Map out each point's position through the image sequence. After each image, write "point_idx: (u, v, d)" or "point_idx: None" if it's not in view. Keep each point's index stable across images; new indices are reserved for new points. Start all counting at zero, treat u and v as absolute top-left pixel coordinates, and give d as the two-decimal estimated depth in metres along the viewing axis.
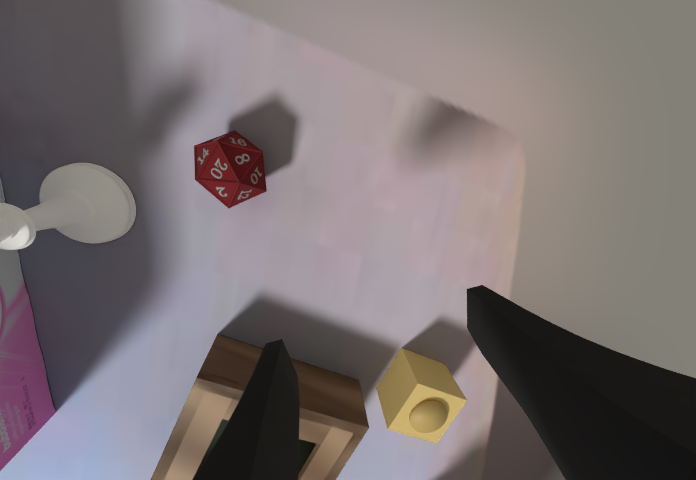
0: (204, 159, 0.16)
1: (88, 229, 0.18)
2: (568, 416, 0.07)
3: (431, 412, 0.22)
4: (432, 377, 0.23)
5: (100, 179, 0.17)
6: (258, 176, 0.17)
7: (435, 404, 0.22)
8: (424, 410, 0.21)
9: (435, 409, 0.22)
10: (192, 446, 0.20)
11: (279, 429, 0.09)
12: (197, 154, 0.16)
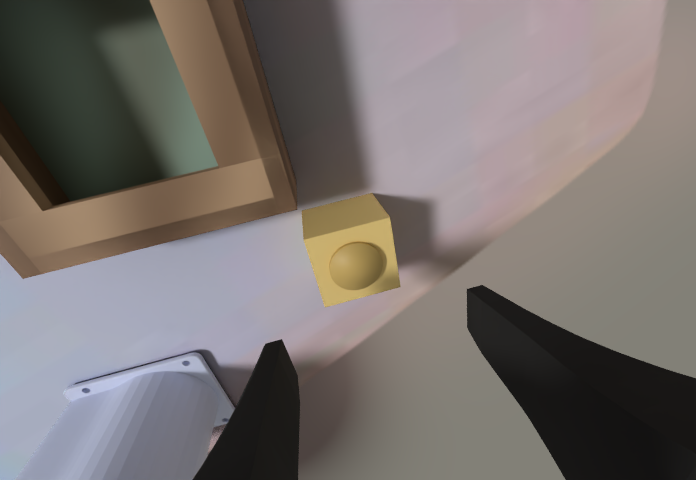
0: None
1: None
2: (568, 416, 0.07)
3: (366, 263, 0.16)
4: None
5: None
6: None
7: (378, 258, 0.16)
8: (363, 254, 0.15)
9: (372, 263, 0.16)
10: None
11: (279, 429, 0.09)
12: None
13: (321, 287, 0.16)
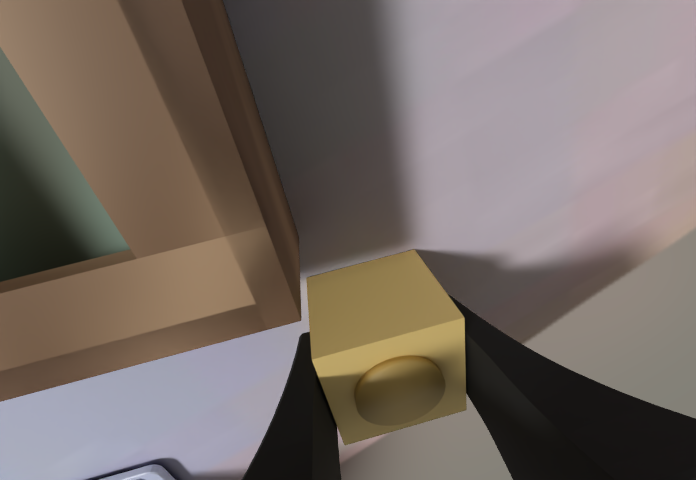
0: None
1: None
2: (517, 431, 0.07)
3: (417, 389, 0.09)
4: None
5: None
6: None
7: (438, 380, 0.09)
8: (414, 376, 0.09)
9: (429, 389, 0.09)
10: None
11: (324, 416, 0.09)
12: None
13: (339, 421, 0.10)
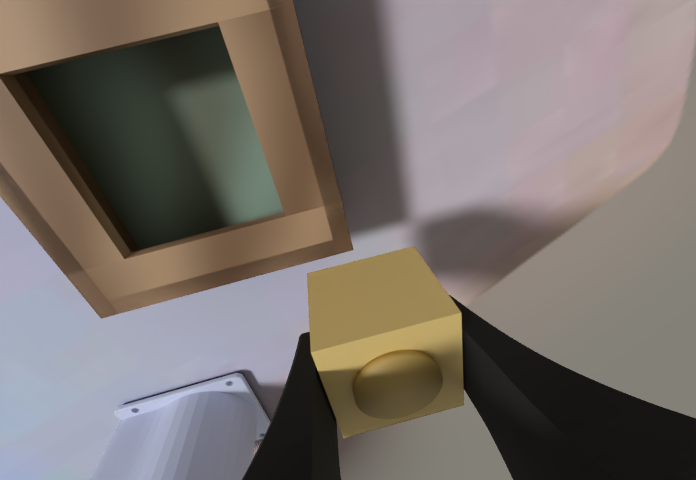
0: None
1: None
2: (517, 431, 0.07)
3: (415, 383, 0.09)
4: None
5: None
6: None
7: (435, 374, 0.09)
8: (411, 371, 0.09)
9: (426, 383, 0.09)
10: (114, 6, 0.09)
11: (323, 416, 0.09)
12: None
13: (338, 414, 0.10)
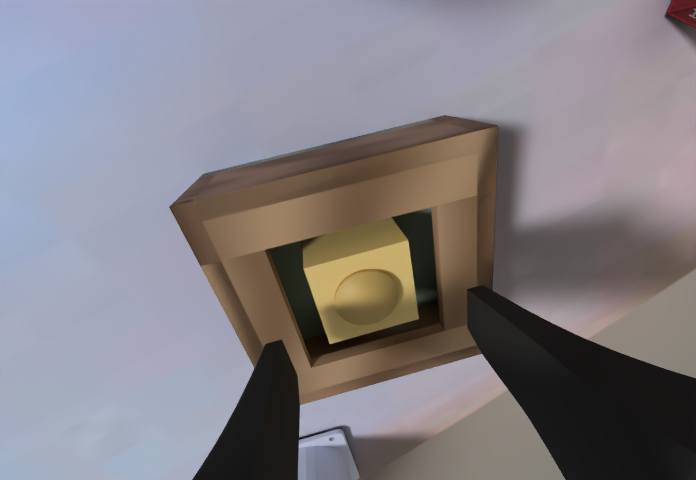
0: None
1: None
2: (568, 416, 0.07)
3: (378, 294, 0.13)
4: None
5: None
6: None
7: (393, 288, 0.13)
8: (375, 284, 0.13)
9: (387, 294, 0.13)
10: (365, 201, 0.11)
11: (279, 429, 0.09)
12: None
13: (325, 322, 0.14)
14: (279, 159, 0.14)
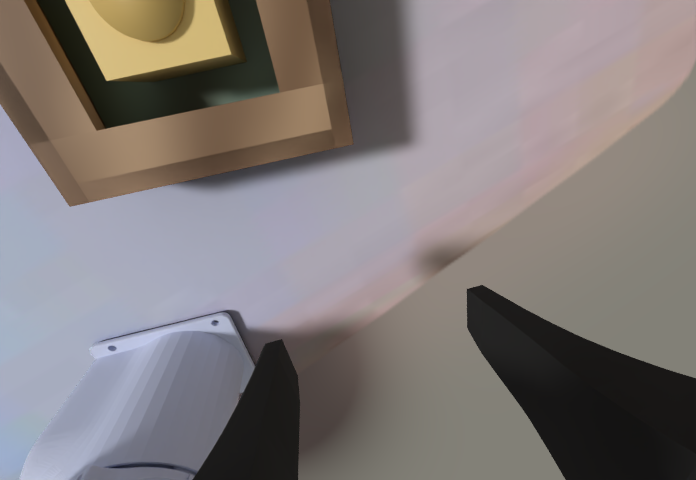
0: None
1: None
2: (568, 416, 0.07)
3: None
4: None
5: None
6: None
7: None
8: None
9: None
10: None
11: (279, 429, 0.09)
12: None
13: (86, 33, 0.10)
14: None
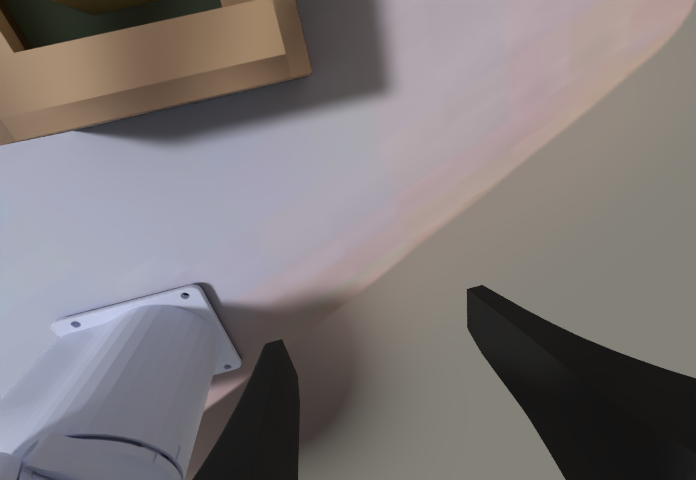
0: None
1: None
2: (568, 416, 0.07)
3: None
4: None
5: None
6: None
7: None
8: None
9: None
10: None
11: (279, 429, 0.09)
12: None
13: None
14: None
